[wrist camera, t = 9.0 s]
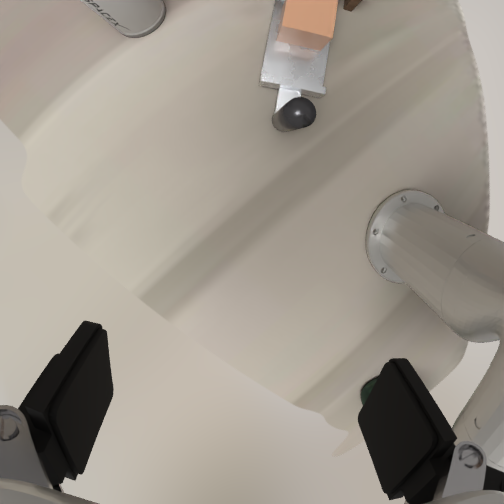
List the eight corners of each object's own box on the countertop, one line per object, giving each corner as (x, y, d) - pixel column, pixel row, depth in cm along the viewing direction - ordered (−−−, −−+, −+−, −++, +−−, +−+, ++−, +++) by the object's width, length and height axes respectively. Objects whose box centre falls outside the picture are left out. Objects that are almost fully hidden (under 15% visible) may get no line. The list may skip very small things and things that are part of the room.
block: (325, 15, 27) (338, -1, 23) (320, 51, 29) (332, 38, 24) (282, 5, 27) (289, -13, 22) (276, 41, 28) (281, 26, 24)
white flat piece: (332, 5, 28) (360, -31, 18) (311, 137, 34) (337, 136, 24) (277, -8, 27) (288, -50, 18) (251, 126, 33) (255, 119, 23)
